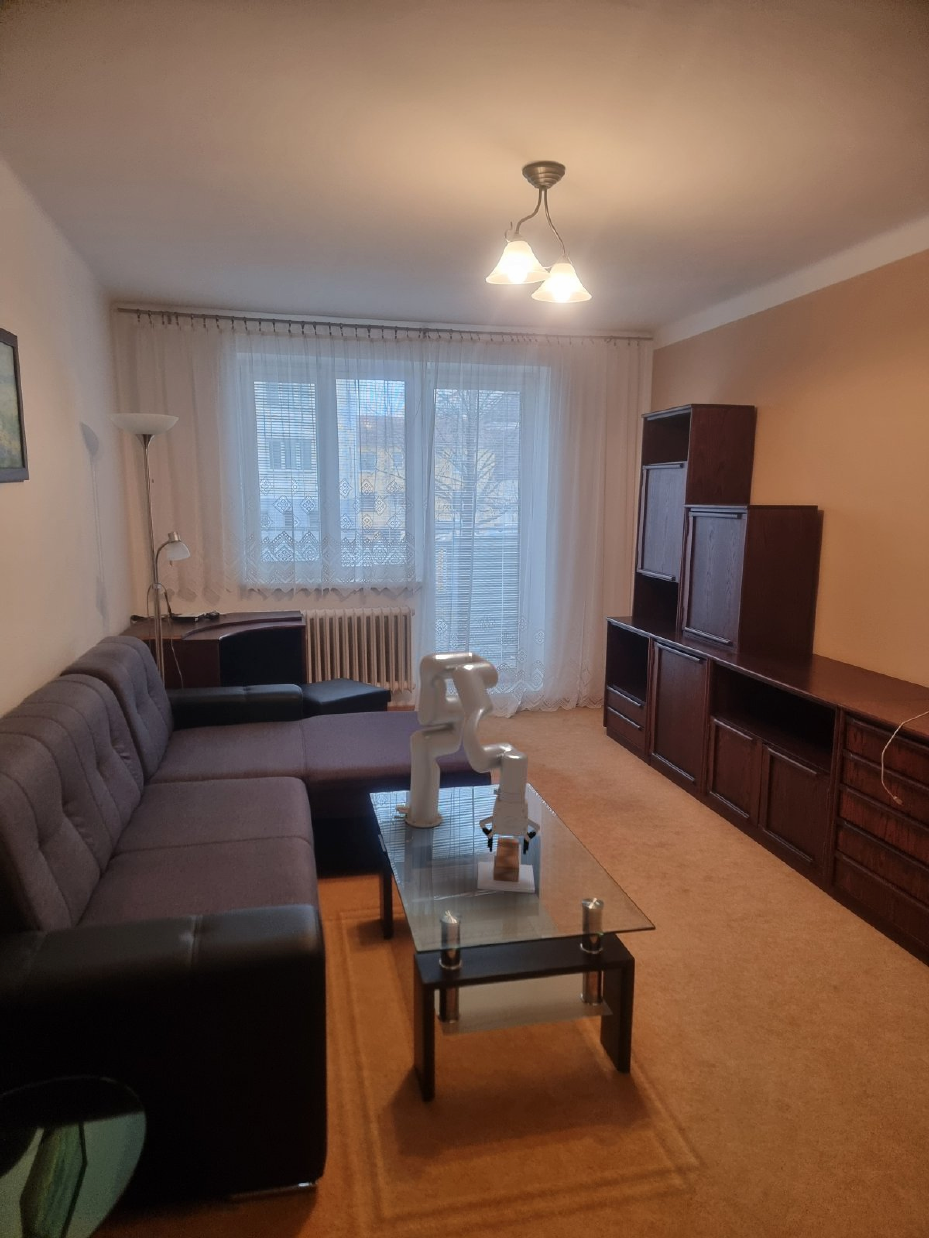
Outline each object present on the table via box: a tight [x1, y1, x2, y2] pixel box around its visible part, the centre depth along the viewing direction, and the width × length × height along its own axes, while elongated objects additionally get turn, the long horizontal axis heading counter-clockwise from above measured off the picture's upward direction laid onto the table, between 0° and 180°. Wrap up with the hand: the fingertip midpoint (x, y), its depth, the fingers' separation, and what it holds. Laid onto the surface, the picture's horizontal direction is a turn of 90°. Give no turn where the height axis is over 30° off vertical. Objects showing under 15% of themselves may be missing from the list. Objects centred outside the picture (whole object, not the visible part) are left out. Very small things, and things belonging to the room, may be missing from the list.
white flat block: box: [476, 855, 536, 894], centre depth 219 cm, size 16×14×5 cm
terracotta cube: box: [495, 836, 520, 868], centre depth 218 cm, size 6×6×6 cm
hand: (507, 851), depth 218 cm, fingers open, 9 cm apart
